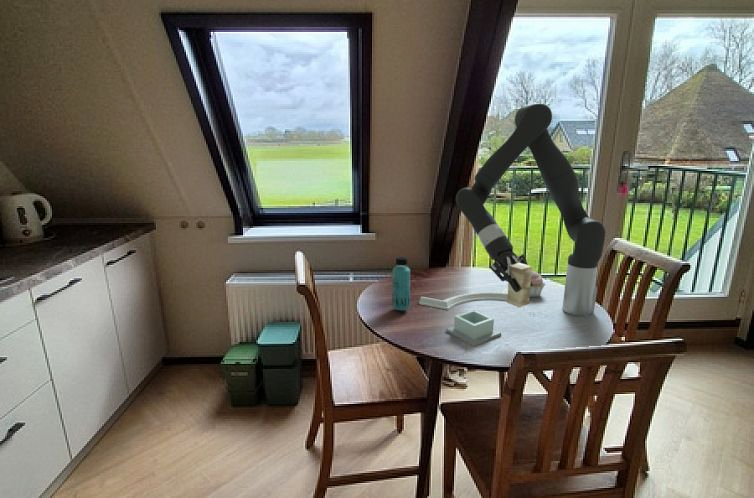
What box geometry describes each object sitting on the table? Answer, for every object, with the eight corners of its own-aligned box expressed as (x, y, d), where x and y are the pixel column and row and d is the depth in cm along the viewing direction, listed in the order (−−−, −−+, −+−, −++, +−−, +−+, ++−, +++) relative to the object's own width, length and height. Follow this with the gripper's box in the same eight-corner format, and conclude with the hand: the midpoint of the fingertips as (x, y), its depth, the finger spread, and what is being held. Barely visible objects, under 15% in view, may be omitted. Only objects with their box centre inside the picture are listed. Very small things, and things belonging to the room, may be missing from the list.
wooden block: (516, 299, 128) (519, 262, 125) (529, 303, 125) (531, 266, 121) (507, 302, 126) (509, 265, 123) (519, 307, 122) (521, 269, 119)
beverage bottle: (398, 305, 152) (398, 253, 147) (413, 309, 149) (414, 256, 143) (388, 311, 147) (388, 258, 142) (404, 316, 143) (404, 261, 138)
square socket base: (472, 321, 138) (473, 306, 137) (501, 335, 129) (502, 319, 127) (446, 331, 132) (446, 315, 131) (473, 346, 122) (474, 329, 121)
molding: (513, 289, 168) (513, 283, 167) (531, 300, 156) (531, 293, 156) (415, 301, 157) (415, 294, 157) (427, 314, 146) (427, 306, 145)
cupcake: (534, 289, 166) (536, 265, 163) (549, 297, 157) (551, 272, 155) (513, 291, 164) (515, 267, 161) (527, 300, 155) (530, 275, 152)
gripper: (485, 238, 122) (516, 288, 116) (517, 231, 130) (548, 277, 123) (472, 252, 128) (500, 300, 121) (503, 244, 135) (531, 289, 129)
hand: (524, 288), depth 122 cm, fingers closed on wooden block, 4 cm apart
